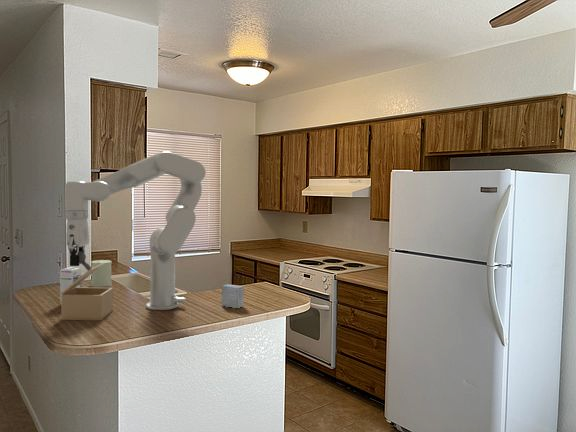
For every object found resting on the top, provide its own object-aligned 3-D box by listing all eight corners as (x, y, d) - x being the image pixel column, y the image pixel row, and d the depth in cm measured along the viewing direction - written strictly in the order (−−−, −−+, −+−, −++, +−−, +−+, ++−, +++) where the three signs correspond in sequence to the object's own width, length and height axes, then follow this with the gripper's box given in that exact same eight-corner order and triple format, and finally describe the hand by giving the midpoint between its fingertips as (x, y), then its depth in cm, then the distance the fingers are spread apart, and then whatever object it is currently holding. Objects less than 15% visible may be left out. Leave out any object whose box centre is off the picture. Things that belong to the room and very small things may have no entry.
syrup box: (72, 306, 188) (72, 269, 188) (59, 304, 190) (59, 268, 189) (81, 302, 194) (82, 267, 193) (69, 301, 195) (69, 266, 194)
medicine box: (243, 307, 194) (244, 286, 194) (238, 309, 190) (238, 288, 190) (227, 304, 198) (227, 284, 197) (221, 306, 194) (221, 285, 193)
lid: (104, 263, 182) (88, 245, 181) (92, 269, 169) (74, 249, 168) (75, 287, 182) (59, 268, 181) (61, 294, 169) (43, 274, 168)
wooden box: (112, 310, 183) (112, 287, 183) (101, 320, 170) (101, 295, 170) (75, 310, 182) (75, 287, 182) (61, 319, 169) (61, 294, 169)
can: (87, 286, 225) (87, 261, 224) (98, 282, 234) (98, 258, 233) (105, 287, 223) (105, 262, 222) (115, 284, 232) (115, 259, 231)
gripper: (78, 216, 166) (79, 268, 167) (95, 213, 182) (95, 261, 184) (56, 216, 165) (57, 268, 166) (75, 213, 182) (75, 261, 183)
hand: (77, 264), depth 175 cm, fingers closed on lid, 4 cm apart
